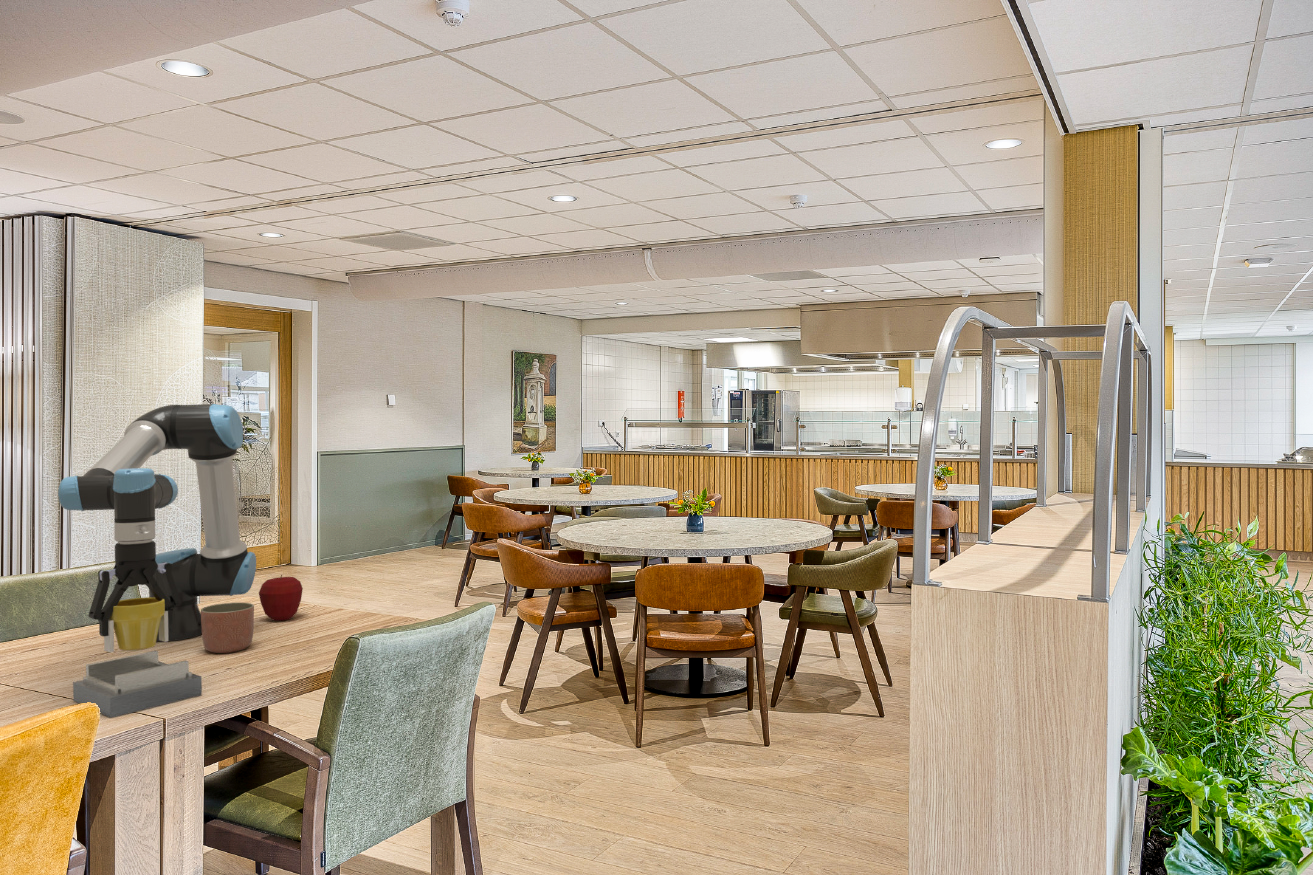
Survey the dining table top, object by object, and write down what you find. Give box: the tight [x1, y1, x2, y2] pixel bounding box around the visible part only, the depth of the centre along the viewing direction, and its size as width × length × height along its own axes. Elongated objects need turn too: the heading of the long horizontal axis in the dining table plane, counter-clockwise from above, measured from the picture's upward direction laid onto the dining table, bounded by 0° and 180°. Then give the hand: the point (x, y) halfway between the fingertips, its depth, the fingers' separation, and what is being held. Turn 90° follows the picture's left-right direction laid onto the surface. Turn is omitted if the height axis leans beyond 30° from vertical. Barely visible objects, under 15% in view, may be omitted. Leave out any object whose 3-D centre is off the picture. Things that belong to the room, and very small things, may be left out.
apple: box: [258, 574, 304, 622], centre depth 264 cm, size 12×12×13 cm
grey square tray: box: [72, 650, 203, 719], centre depth 190 cm, size 19×18×8 cm
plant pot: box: [109, 596, 165, 652], centre depth 189 cm, size 10×10×10 cm
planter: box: [200, 602, 255, 654], centre depth 230 cm, size 12×12×11 cm
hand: (137, 645), depth 190 cm, fingers closed on plant pot, 10 cm apart
